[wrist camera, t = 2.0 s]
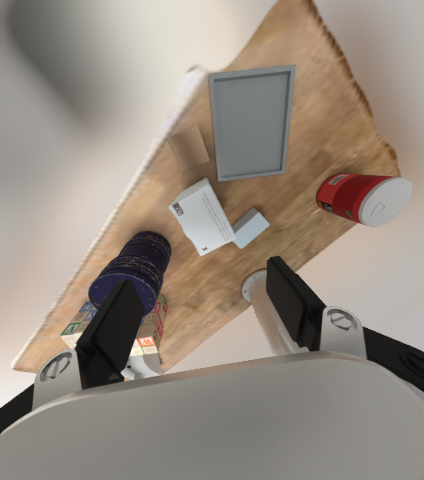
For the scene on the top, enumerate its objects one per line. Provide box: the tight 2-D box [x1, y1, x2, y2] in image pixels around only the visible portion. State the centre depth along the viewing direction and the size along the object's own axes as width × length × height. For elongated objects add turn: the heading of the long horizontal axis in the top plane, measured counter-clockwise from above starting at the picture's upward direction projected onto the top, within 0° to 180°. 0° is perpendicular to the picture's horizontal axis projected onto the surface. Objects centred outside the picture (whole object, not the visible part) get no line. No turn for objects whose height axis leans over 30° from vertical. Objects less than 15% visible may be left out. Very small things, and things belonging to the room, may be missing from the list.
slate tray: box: [209, 65, 295, 182], centre depth 27 cm, size 13×15×2 cm
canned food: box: [317, 174, 413, 227], centre depth 29 cm, size 8×8×11 cm
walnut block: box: [167, 125, 210, 173], centre depth 26 cm, size 5×5×5 cm
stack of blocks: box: [60, 294, 167, 356], centre depth 38 cm, size 21×6×12 cm, turn 93°
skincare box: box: [168, 177, 236, 256], centre depth 26 cm, size 8×6×15 cm
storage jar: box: [88, 231, 171, 317], centre depth 30 cm, size 10×10×15 cm
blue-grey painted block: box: [232, 208, 270, 249], centre depth 34 cm, size 8×4×4 cm, turn 134°
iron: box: [107, 353, 162, 385], centre depth 47 cm, size 11×24×15 cm, turn 7°
